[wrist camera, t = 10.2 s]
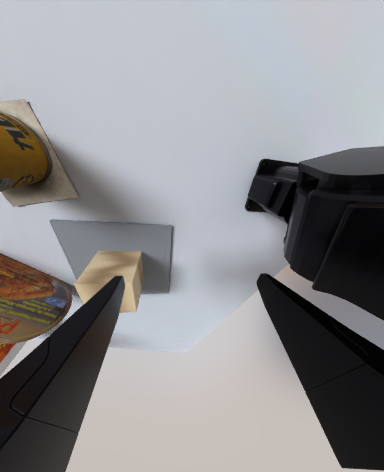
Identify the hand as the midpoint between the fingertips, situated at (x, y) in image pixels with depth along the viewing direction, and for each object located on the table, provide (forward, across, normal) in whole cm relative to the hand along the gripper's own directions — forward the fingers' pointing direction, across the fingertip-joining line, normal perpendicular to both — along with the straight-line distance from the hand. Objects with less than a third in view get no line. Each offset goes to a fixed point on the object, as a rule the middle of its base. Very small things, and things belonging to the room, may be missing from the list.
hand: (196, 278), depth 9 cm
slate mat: (+12, +9, +10) cm, 18 cm away
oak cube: (+11, +9, +10) cm, 18 cm away
